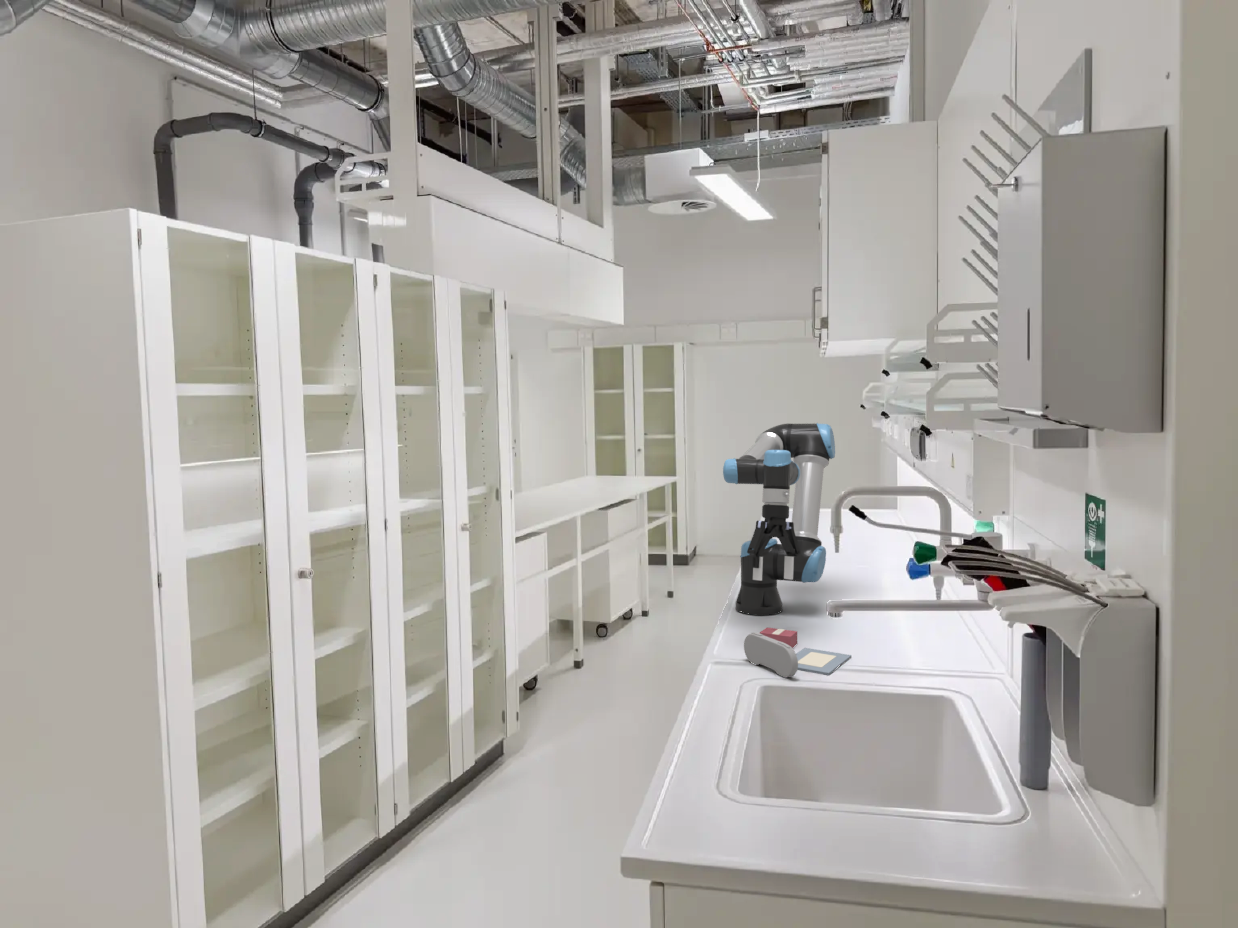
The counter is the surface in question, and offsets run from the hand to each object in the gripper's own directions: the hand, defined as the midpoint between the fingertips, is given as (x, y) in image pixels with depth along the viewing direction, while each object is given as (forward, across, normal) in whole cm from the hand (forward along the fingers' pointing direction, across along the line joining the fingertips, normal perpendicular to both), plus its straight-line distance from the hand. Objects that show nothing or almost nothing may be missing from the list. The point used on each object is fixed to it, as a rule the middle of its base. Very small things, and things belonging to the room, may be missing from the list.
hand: (773, 579), depth 234 cm
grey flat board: (+20, -3, -18) cm, 27 cm away
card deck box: (+18, +2, -1) cm, 19 cm away
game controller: (+22, -16, -13) cm, 30 cm away
